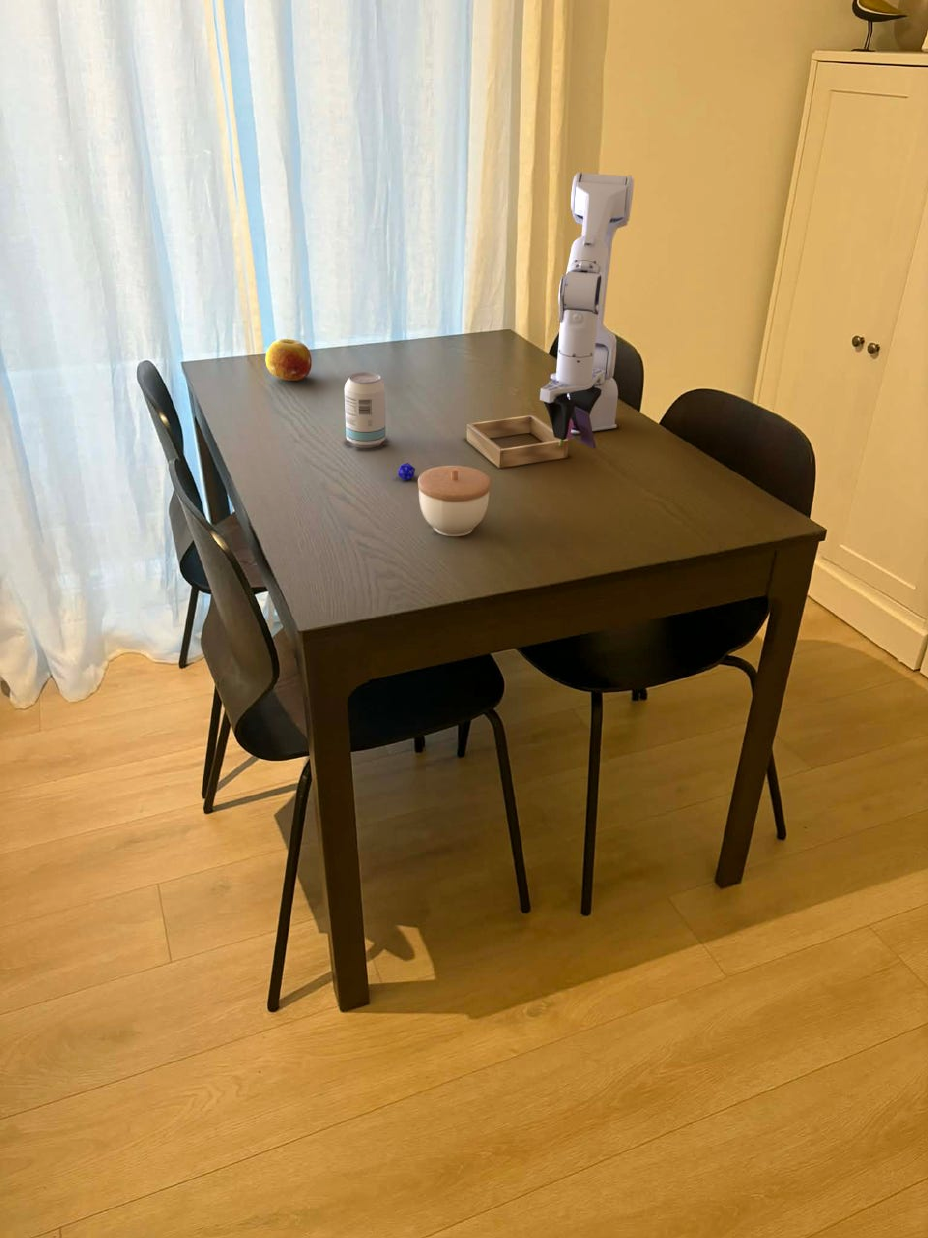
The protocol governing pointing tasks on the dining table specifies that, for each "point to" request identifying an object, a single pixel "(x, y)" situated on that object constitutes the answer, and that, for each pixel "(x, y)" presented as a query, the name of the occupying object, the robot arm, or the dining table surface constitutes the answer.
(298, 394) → the dining table surface
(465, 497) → the trinket box
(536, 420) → the birch box
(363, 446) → the beverage can
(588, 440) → the purple monster figurine
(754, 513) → the dining table surface
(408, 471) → the die
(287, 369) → the fruit
